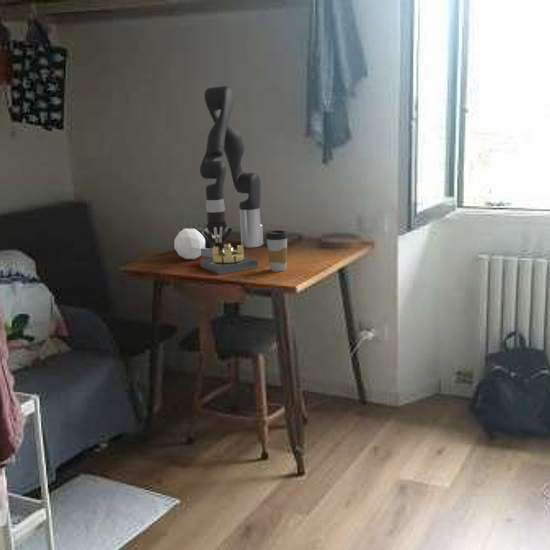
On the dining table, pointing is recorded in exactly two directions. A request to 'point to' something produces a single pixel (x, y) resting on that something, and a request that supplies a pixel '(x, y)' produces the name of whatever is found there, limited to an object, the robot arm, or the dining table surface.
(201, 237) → the geodesic sphere
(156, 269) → the dining table surface
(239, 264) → the housing
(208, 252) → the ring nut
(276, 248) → the coffee cup
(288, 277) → the dining table surface
